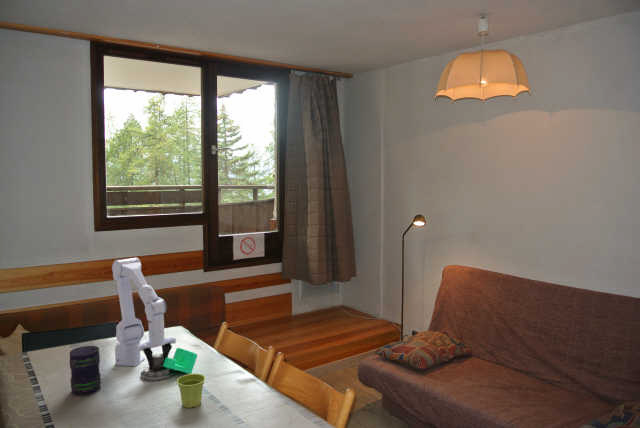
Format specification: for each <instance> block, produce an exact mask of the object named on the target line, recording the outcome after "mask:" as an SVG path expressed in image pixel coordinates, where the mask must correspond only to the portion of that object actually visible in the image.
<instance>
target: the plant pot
mask: <svg viewBox="0 0 640 428" xmlns="http://www.w3.org/2000/svg"><path fill="white" fill-rule="evenodd" d="M205 381H206V376H205V375H203V374H201V373H200V374H199V373H191V374H190V373H187V374H185V375H182V376H180V377H178V378H177V380H176V384H177V385H178V389H179V392H180V398H181V403H182V404H181V405H182V406H183V408H188V409H190V408H193V407H194V408H196V407H199V406H200V405H201V403H202V396H203V387H204V383H205Z"/></svg>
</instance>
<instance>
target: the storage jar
mask: <svg viewBox="0 0 640 428" xmlns="http://www.w3.org/2000/svg"><path fill="white" fill-rule="evenodd" d="M100 359H101V356H100V347H98V346H95V345H86V346H79V347H76V348H74V349H72V350H70V351H69V368H70V373H71V374H70V375H71V377H70V389H71V391H70V392H71V394H72V396H74V397H86V396H90V395H93V394H96V393H98V392H99V391H100V390H101V386H102V385H101V382H102V380H101V371H100V362H101V360H100Z"/></svg>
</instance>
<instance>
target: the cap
mask: <svg viewBox="0 0 640 428" xmlns="http://www.w3.org/2000/svg"><path fill="white" fill-rule="evenodd" d="M152 364H153V366H152V367H151V370H161V369H164V368H165V367H164V366H163V364H164V354H163V353H155V354H152Z"/></svg>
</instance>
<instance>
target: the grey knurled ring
mask: <svg viewBox="0 0 640 428" xmlns="http://www.w3.org/2000/svg"><path fill="white" fill-rule="evenodd" d="M142 369H143V371H141V372H140V379H141V380H143V381H145V382H158V381H163V380H167V379H169V378H172V377H173V376H174V375H175V374H176V370H175V369H171V368H167V367H165V368H164V369H161V370H151V367H150V366H149V364H147V365H145V366H144V367H143V368H142Z"/></svg>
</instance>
